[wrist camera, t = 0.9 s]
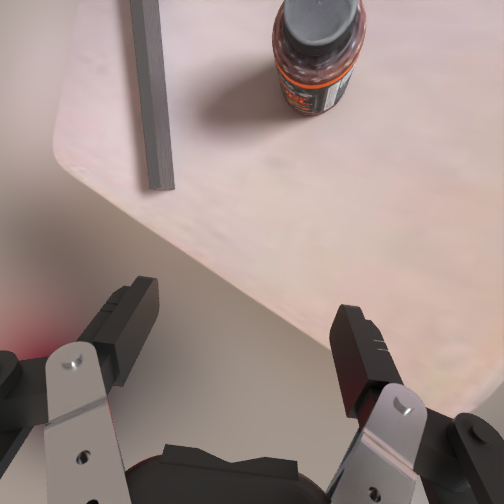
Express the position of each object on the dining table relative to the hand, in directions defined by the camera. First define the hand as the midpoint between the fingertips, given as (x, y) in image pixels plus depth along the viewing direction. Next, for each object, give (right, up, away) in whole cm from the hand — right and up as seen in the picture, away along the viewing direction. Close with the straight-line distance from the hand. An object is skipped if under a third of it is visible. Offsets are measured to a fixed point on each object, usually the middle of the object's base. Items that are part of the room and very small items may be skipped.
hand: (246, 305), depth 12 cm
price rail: (-9, +19, +16) cm, 27 cm away
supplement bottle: (+6, +18, +14) cm, 24 cm away
